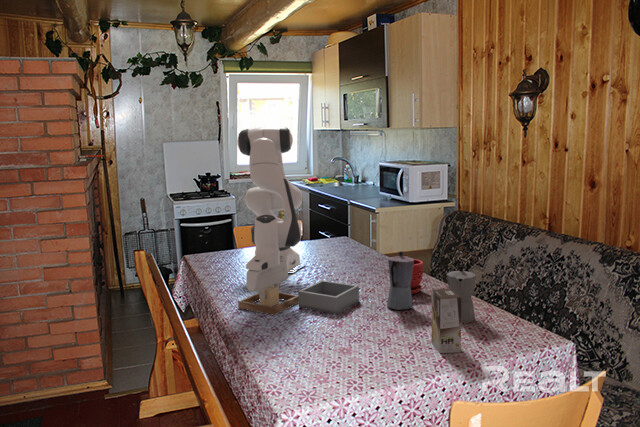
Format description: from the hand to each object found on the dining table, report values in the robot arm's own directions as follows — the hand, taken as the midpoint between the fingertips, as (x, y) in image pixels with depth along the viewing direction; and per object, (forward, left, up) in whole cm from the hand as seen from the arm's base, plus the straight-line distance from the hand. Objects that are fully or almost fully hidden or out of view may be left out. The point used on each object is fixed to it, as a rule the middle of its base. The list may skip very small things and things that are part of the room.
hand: (269, 297), depth 197 cm
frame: (0, 0, -3) cm, 3 cm away
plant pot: (-39, +37, -3) cm, 54 cm away
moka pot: (-20, +43, -3) cm, 48 cm away
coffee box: (+6, +69, -3) cm, 69 cm away
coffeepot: (-20, +65, -3) cm, 68 cm away
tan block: (0, 0, -3) cm, 3 cm away
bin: (-11, +19, -3) cm, 22 cm away
